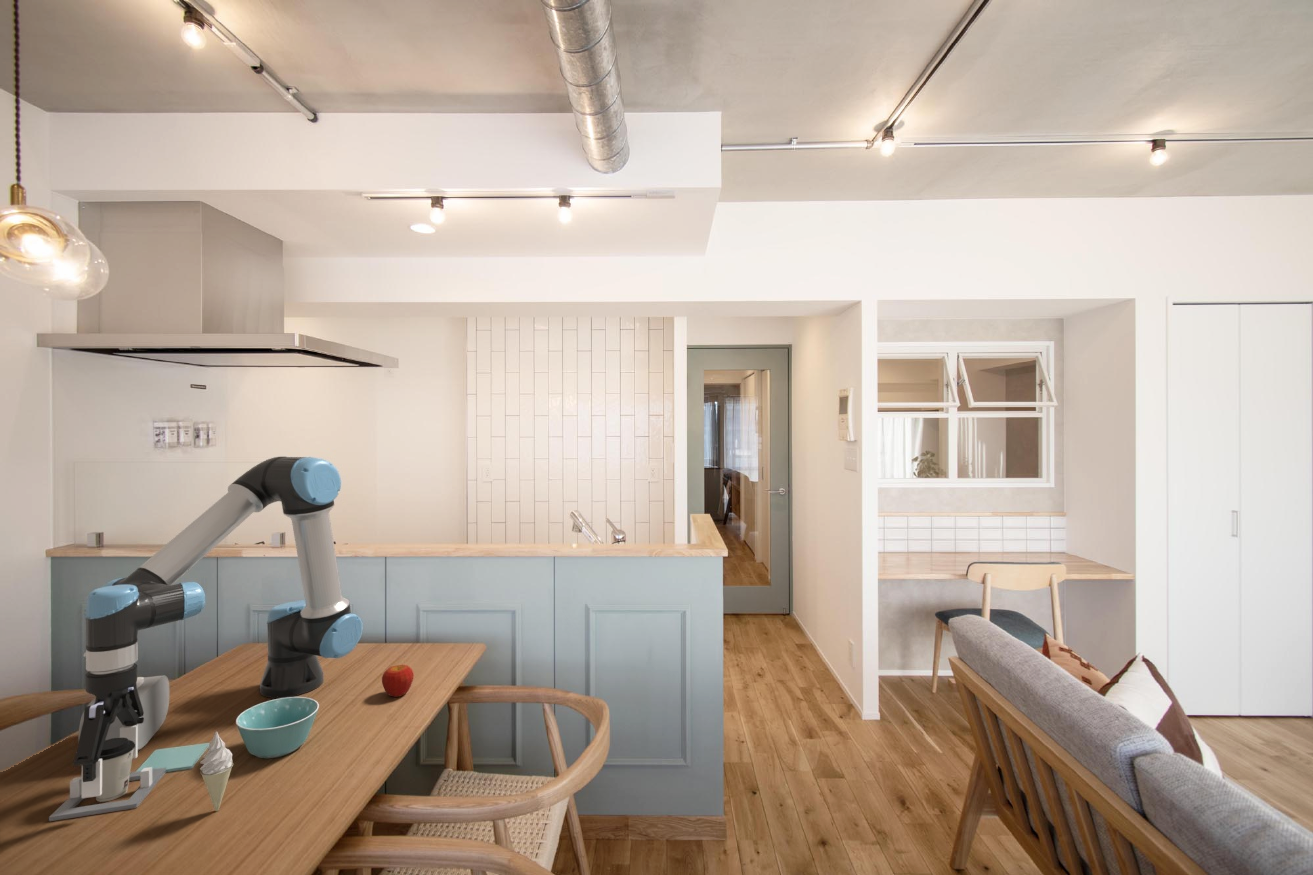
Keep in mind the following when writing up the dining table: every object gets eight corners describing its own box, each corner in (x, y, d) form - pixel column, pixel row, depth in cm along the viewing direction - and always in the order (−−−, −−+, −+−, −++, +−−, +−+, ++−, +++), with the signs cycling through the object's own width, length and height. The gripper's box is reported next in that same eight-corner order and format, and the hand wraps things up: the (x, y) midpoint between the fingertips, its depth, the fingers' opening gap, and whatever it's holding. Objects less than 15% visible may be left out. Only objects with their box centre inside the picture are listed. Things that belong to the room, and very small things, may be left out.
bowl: (334, 737, 142) (334, 702, 141) (272, 773, 127) (272, 734, 127) (284, 726, 147) (284, 692, 147) (218, 759, 132) (218, 721, 132)
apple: (375, 697, 163) (375, 668, 163) (398, 686, 170) (398, 658, 170) (397, 702, 160) (397, 673, 160) (419, 690, 167) (419, 662, 167)
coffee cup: (143, 789, 121) (143, 739, 120) (99, 809, 114) (98, 756, 114) (124, 780, 124) (124, 731, 123) (80, 799, 117) (80, 747, 117)
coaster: (209, 745, 138) (209, 742, 138) (191, 768, 128) (191, 765, 128) (155, 752, 134) (155, 749, 134) (133, 776, 125) (133, 774, 125)
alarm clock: (120, 725, 146) (120, 670, 146) (169, 719, 150) (169, 664, 150) (77, 770, 127) (77, 706, 127) (134, 761, 131) (133, 699, 130)
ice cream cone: (211, 802, 117) (211, 724, 116) (239, 801, 117) (239, 723, 117) (193, 819, 112) (193, 738, 111) (222, 818, 112) (222, 737, 112)
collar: (166, 771, 127) (166, 751, 127) (136, 807, 115) (136, 786, 115) (89, 782, 123) (89, 762, 123) (49, 821, 111) (49, 799, 111)
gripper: (120, 647, 129) (120, 747, 129) (47, 696, 106) (46, 818, 106) (163, 644, 132) (163, 742, 132) (101, 690, 108) (100, 810, 108)
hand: (111, 776), depth 119 cm, fingers open, 13 cm apart
